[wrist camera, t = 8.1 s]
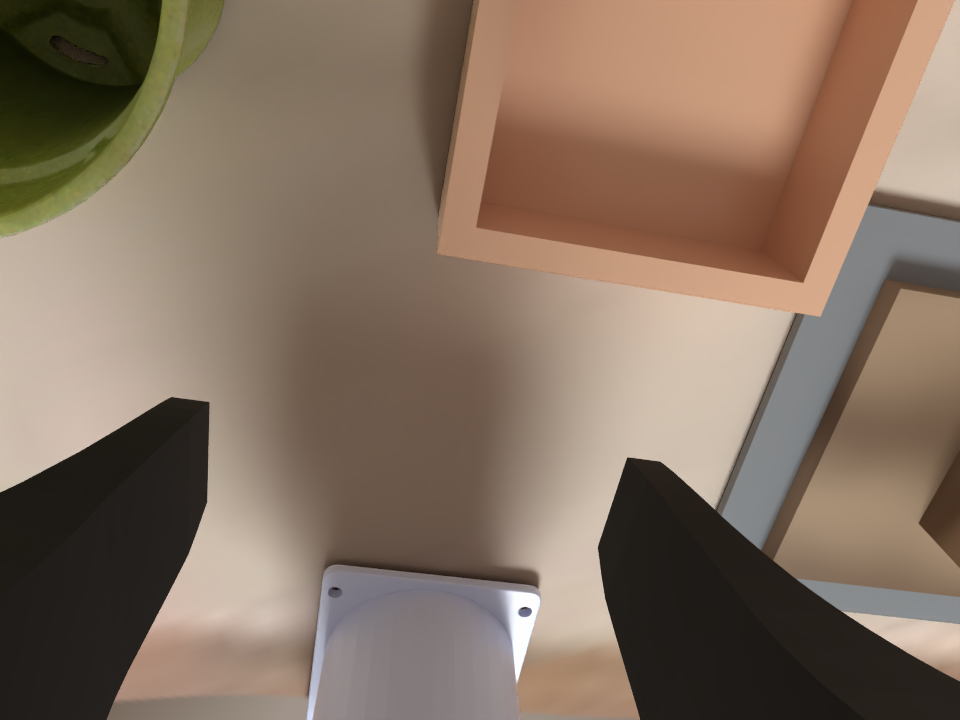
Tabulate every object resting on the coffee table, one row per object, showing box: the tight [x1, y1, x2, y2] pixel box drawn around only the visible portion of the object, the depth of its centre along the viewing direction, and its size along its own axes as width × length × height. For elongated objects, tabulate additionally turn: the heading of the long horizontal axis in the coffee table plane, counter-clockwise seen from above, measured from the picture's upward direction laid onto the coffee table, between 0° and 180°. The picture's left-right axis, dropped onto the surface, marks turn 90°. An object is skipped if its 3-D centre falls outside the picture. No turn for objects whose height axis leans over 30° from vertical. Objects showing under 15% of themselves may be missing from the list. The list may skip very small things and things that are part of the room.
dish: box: [437, 0, 955, 317], centre depth 17 cm, size 10×10×4 cm
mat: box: [717, 204, 960, 624], centre depth 25 cm, size 15×15×1 cm
